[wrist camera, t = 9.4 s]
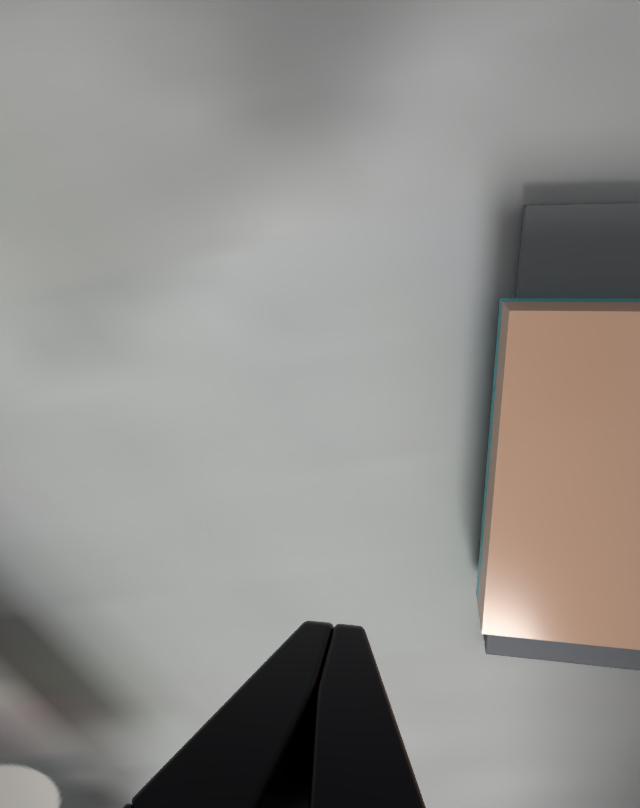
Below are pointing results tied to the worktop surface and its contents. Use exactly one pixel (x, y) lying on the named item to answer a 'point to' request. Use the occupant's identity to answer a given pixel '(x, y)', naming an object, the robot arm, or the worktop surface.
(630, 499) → the tile
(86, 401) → the worktop surface
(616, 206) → the mat
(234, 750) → the robot arm
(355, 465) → the worktop surface
